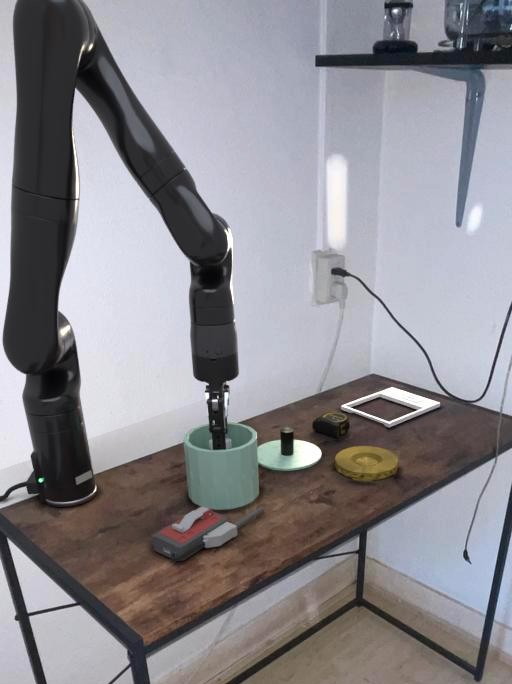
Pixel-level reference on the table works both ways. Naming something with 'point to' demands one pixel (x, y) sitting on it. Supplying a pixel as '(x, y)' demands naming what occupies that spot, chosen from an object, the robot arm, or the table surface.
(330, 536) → the table surface
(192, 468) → the cylindrical container
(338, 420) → the tape measure
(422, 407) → the photo frame
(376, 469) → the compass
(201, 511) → the walkie-talkie
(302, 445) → the lid
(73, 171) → the robot arm
